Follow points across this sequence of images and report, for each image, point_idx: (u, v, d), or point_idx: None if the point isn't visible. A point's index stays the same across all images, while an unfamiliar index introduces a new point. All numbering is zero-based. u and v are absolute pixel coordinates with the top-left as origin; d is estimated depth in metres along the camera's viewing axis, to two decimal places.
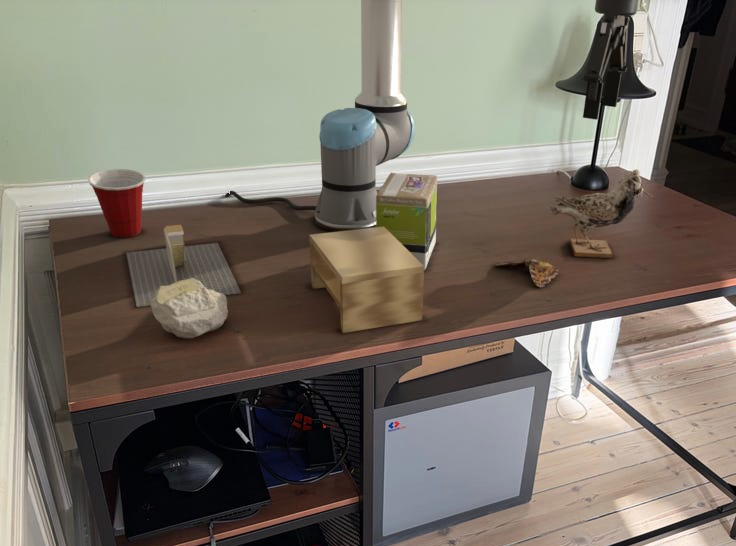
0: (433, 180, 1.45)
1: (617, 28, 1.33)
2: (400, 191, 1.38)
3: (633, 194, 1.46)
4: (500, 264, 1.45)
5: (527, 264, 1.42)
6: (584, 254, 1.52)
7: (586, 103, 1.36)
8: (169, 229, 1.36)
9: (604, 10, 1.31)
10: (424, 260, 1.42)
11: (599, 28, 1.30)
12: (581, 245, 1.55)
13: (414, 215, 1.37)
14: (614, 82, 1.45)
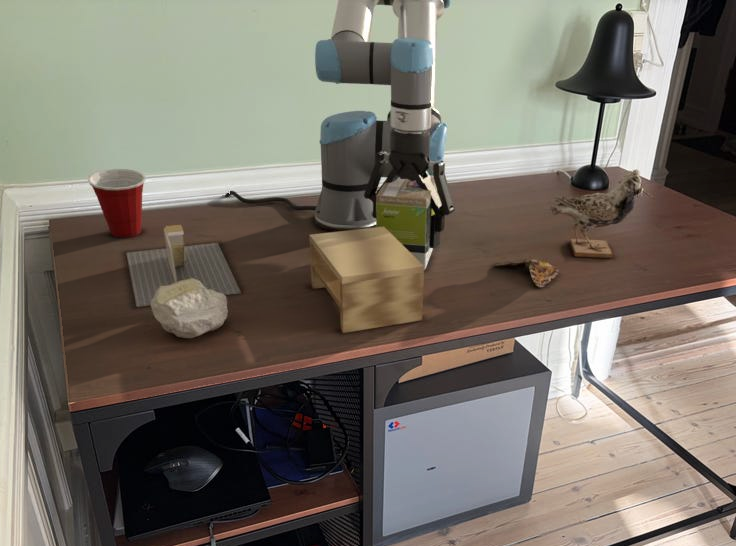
0: (433, 180, 1.45)
1: (397, 162, 1.39)
2: (401, 191, 1.38)
3: (633, 194, 1.46)
4: (500, 264, 1.45)
5: (527, 264, 1.42)
6: (584, 254, 1.52)
7: None
8: (169, 229, 1.36)
9: None
10: (424, 260, 1.42)
11: None
12: (581, 245, 1.55)
13: (414, 215, 1.37)
14: None
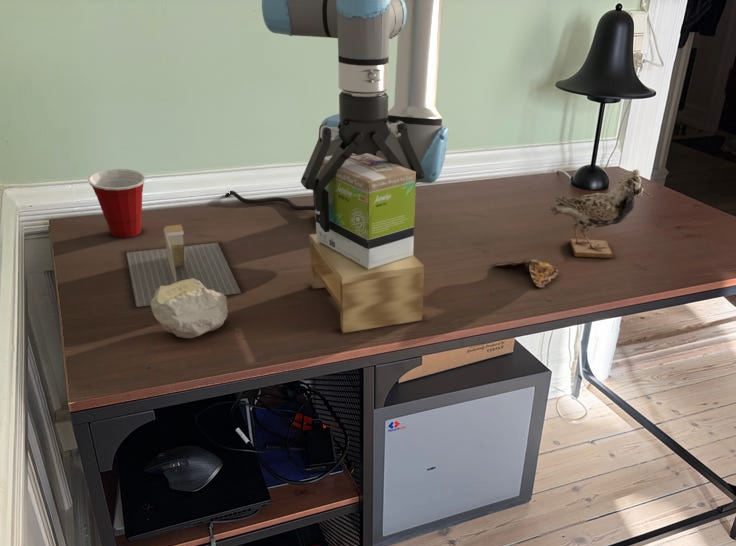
0: (370, 154, 1.22)
1: (355, 135, 1.13)
2: (378, 171, 1.14)
3: (633, 194, 1.46)
4: (500, 264, 1.45)
5: (527, 264, 1.42)
6: (584, 254, 1.52)
7: (320, 211, 1.19)
8: (169, 229, 1.36)
9: (339, 113, 1.13)
10: (412, 244, 1.22)
11: (319, 132, 1.13)
12: (581, 245, 1.55)
13: (405, 195, 1.16)
14: None
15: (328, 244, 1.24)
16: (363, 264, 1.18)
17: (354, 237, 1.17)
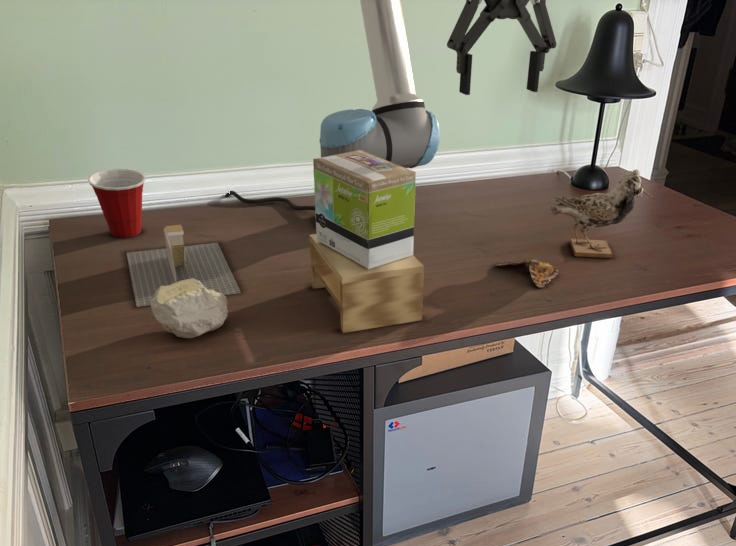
0: (370, 154, 1.22)
1: None
2: (378, 171, 1.14)
3: (633, 194, 1.46)
4: (500, 264, 1.45)
5: (527, 264, 1.42)
6: (584, 254, 1.52)
7: (461, 76, 1.28)
8: (169, 229, 1.36)
9: None
10: (412, 244, 1.22)
11: None
12: (581, 245, 1.55)
13: (405, 195, 1.16)
14: (534, 64, 1.31)
15: (328, 244, 1.24)
16: (363, 264, 1.18)
17: (354, 237, 1.17)
